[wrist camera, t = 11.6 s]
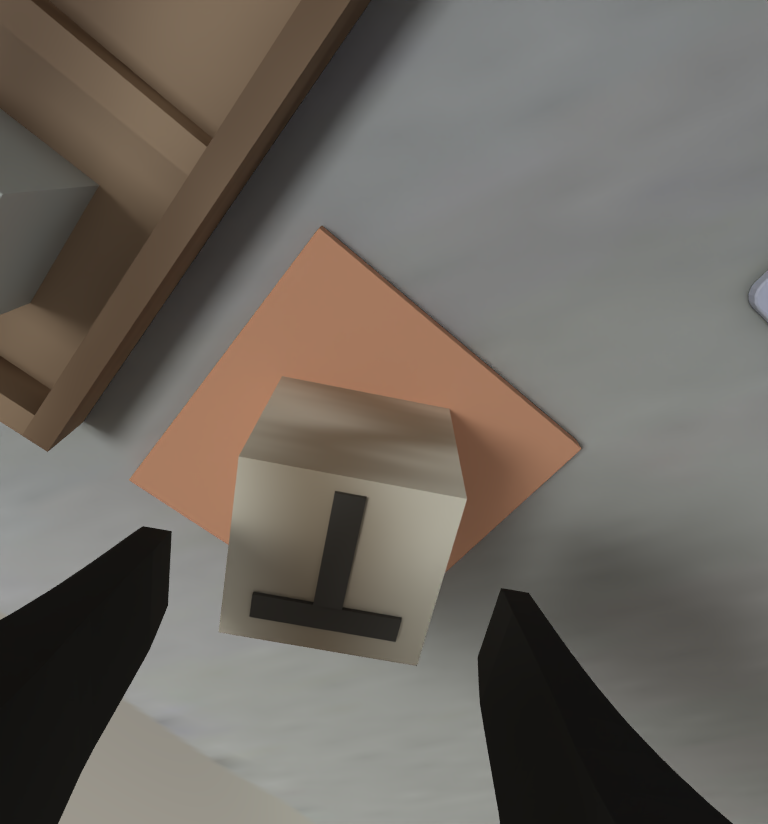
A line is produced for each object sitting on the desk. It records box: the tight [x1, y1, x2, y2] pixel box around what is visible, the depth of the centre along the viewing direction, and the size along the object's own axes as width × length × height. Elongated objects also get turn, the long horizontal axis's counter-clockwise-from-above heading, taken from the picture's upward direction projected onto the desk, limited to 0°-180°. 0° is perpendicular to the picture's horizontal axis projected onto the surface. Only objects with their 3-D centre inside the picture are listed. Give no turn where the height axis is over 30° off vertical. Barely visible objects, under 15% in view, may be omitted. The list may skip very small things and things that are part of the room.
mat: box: [129, 226, 581, 572], centre depth 18 cm, size 10×10×1 cm
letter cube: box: [219, 376, 467, 666], centre depth 16 cm, size 5×5×5 cm
